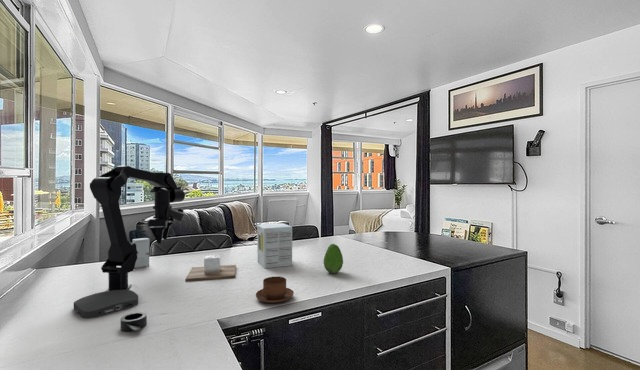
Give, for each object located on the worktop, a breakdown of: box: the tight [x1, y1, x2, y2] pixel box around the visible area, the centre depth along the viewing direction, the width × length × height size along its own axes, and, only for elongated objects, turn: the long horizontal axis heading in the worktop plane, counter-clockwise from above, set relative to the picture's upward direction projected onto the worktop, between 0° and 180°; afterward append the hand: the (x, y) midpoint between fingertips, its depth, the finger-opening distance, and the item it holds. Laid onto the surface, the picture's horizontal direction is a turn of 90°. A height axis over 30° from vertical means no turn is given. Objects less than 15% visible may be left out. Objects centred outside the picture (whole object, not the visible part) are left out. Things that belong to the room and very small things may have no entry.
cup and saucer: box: [255, 276, 295, 304], centre depth 100 cm, size 12×12×6 cm
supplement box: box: [256, 222, 293, 269], centre depth 143 cm, size 13×13×18 cm
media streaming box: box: [73, 289, 139, 319], centre depth 95 cm, size 15×15×3 cm
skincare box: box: [131, 237, 151, 269], centre depth 139 cm, size 6×4×12 cm
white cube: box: [203, 254, 222, 274], centre depth 128 cm, size 6×6×6 cm
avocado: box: [323, 243, 344, 274], centre depth 128 cm, size 8×8×12 cm
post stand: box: [184, 264, 237, 282], centre depth 128 cm, size 16×18×5 cm
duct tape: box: [120, 311, 148, 333], centre depth 81 cm, size 8×10×3 cm
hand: (162, 241), depth 129 cm, fingers open, 9 cm apart
